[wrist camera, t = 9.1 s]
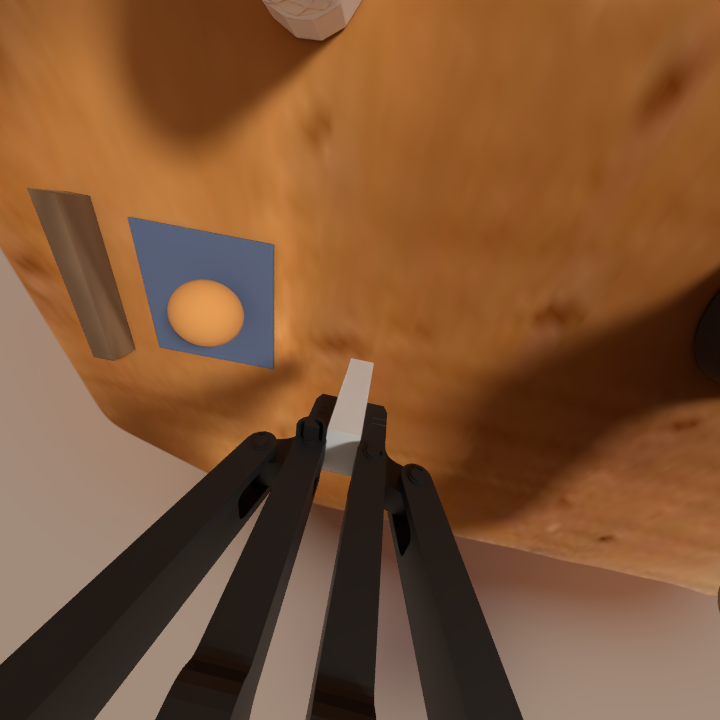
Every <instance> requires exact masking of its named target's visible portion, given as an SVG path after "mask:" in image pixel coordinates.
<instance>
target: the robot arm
mask: <svg viewBox="0 0 720 720" xmlns="http://www.w3.org/2000/svg"><path fill="white" fill-rule="evenodd" d="M695 357H696V360H697V363H698V365H699V367H700V368H701V370H702V371H703V372H704V373H705V374H706V375H707V376H708V377H709V378H711V379H712V380H714V381H716V382H718V383H720V292H719V293H718V295H717V296H716V297H715V299H714V300H713V301H712V303H711V304H710V306H709V307H708V309H707V311H706V313H705V314H704V316H703V318H702V320H701V322H700V325H699V327H698V330H697V334H696V338H695ZM373 364H374V363H371V362H367V361H362V360H357V359H352V358H351V361H350V364H349V367H348V370H347V373H346V376H345V379H344V382H343V384H342V387H341V390H340V393H339V396H338V397H335V396H331V395H326V394H322V395H321V396H319V397H318V398H317V399H316V401H315V404H314V406H313V408H312V411H311V412H310V415H309V416H308V417H304V418H302V419H300V420H299V421H298V423H297V427H296V436H295V437H292V438H288V439H276V437H275V436H274V435H273V434H271V433H269V432H265V431H264V432H257V433H253V434H252V435H250V436H249V437H248V438H246V439H245V440H244V441H243V442H242V443H241V444H240V445H239V446H238V447H237V448H236V449H234V450H233V451H232V452H231V453H230V454H229V455H228V456H227V457H226V458H225V459H224V460H222V461H221V462H220V463H219V464H218V465H217V466H216V467H215V468H214V469H213V470H212V471H211V472H209V473H208V474H207V475H206V476H205V477H204V478H203V479H202V480H201V481H200V482H199V483H197V484H196V485H195V486H194V487H193V488H192V489H191V490H190V491H189V492H188V493H187V494H186V495H185V496H183V497H182V498H181V499H180V500H179V501H178V502H177V503H176V504H175V505H174V506H173V507H171V508H170V509H169V510H168V511H167V512H166V513H165V514H164V515H163V516H162V517H160V518H159V520H157V521H156V522H155V523H154V524H153V525H152V526H151V527H150V528H149V529H147V530H146V531H145V532H144V533H143V534H142V535H141V536H140V537H139V538H138V539H137V540H136V541H134V542H133V543H132V544H131V545H130V546H129V547H128V548H127V549H126V550H125V551H123V552H122V553H121V554H120V555H119V556H118V557H117V558H116V559H115V560H114V561H113V562H112V563H110V564H109V565H108V566H107V567H106V568H105V569H104V570H103V571H102V572H101V573H100V574H98V576H96V577H95V578H94V579H93V580H92V581H91V582H90V583H89V584H88V585H87V586H85V587H84V588H83V589H82V590H81V591H80V592H79V593H78V594H77V595H76V596H75V597H73V598H72V599H71V600H70V601H69V602H68V603H67V604H66V605H65V606H64V607H63V608H62V609H60V610H59V611H58V612H57V613H56V614H55V615H54V616H53V617H52V618H51V619H50V620H48V621H47V622H46V623H45V624H44V625H43V626H42V627H41V628H40V629H39V630H38V631H37V632H35V633H34V634H33V635H32V636H31V637H30V638H29V639H28V640H27V641H26V642H25V643H23V644H22V645H21V646H20V647H19V648H18V649H17V650H16V651H15V652H14V653H13V654H11V655H10V656H9V657H8V658H7V659H6V660H5V661H4V662H3V663H2V664H1V665H0V720H94V719H95V718H96V716H97V715H98V714H99V712H100V711H101V710H102V709H103V707H104V706H105V705H106V703H107V702H108V701H109V699H110V698H111V697H112V696H113V694H114V693H115V692H116V690H117V689H118V688H119V686H120V685H121V684H122V683H123V681H124V680H125V679H126V678H127V676H128V675H129V674H130V672H131V671H132V670H133V668H134V667H135V666H136V665H137V663H138V662H139V661H140V659H141V658H142V657H143V656H144V654H145V653H146V652H147V650H148V649H149V648H150V646H151V645H152V644H153V643H154V641H155V640H156V639H157V637H158V636H159V635H160V633H161V632H162V631H163V630H164V628H165V627H166V626H167V624H168V623H169V622H170V621H171V619H172V618H173V617H174V615H175V614H176V613H177V612H178V610H179V609H180V608H181V606H182V605H183V604H184V602H185V601H186V600H187V598H188V597H189V596H190V595H191V593H192V592H193V591H194V589H195V588H196V587H197V586H198V584H199V583H200V582H201V580H202V579H203V578H204V577H205V575H206V574H207V573H208V571H209V570H210V569H211V567H212V566H213V565H214V564H215V562H216V561H217V560H218V558H219V557H220V556H221V554H222V553H223V552H224V550H225V549H226V548H227V547H228V545H229V544H230V543H231V541H232V540H233V539H234V538H235V536H236V535H237V534H238V533H239V531H240V530H241V529H242V527H243V526H244V525H245V523H246V522H247V521H248V520H249V518H250V517H251V516H252V514H253V513H254V512H255V511H256V509H257V508H258V507H259V505H260V504H261V503H262V501H263V500H264V499H265V498H266V496H267V495H268V494H269V496H268V498H267V500H266V502H265V504H264V506H263V508H262V511H261V513H260V515H259V517H258V519H257V521H256V524H255V526H254V528H253V530H252V532H251V534H250V536H249V539H248V541H247V543H246V545H245V547H244V549H243V551H242V553H241V556H240V558H239V560H238V562H237V564H236V567H235V569H234V571H233V573H232V575H231V577H230V579H229V581H228V583H227V586H226V588H225V590H224V592H223V594H222V596H221V598H220V601H219V603H218V605H217V607H216V609H215V611H214V613H213V616H212V618H211V620H210V622H209V624H208V626H207V628H206V631H205V633H204V635H203V637H202V639H201V642H200V643H199V646H198V647H197V650H196V651H195V653H194V655H193V656H192V658H191V659H190V660H189V662H188V663H187V664H186V665H185V666H184V667H183V668H182V670H181V672H180V673H179V675H178V676H177V678H176V680H175V681H174V683H173V685H172V687H171V689H170V691H169V693H168V695H167V697H166V699H165V701H164V703H163V705H162V707H161V709H160V711H159V713H158V715H157V717H156V719H155V720H249V717H250V714H251V709H252V705H253V700H254V696H255V693H256V689H257V686H258V682H259V679H260V676H261V672H262V669H263V666H264V662H265V659H266V656H267V652H268V649H269V646H270V642H271V639H272V636H273V632H274V629H275V626H276V622H277V619H278V616H279V612H280V609H281V606H282V602H283V599H284V596H285V592H286V589H287V586H288V582H289V579H290V576H291V572H292V569H293V566H294V562H295V559H296V556H297V552H298V549H299V546H300V542H301V539H302V536H303V532H304V529H305V526H306V522H307V519H308V516H309V512H310V509H311V506H312V502H313V499H314V496H315V492H316V489H317V486H318V482H319V478H320V472H321V469H322V470H326V471H330V472H335V473H339V474H343V475H348V476H351V481H350V485H349V490H348V494H347V501H346V507H345V512H344V518H343V523H342V528H341V534H340V539H339V544H338V549H337V556H336V560H335V566H334V571H333V577H332V582H331V587H330V592H329V598H328V604H327V609H326V614H325V619H324V625H323V630H322V635H321V641H320V646H319V652H318V657H317V662H316V668H315V673H314V678H313V683H312V689H311V694H310V699H309V705H308V710H307V715H306V720H376V713H375V707H374V683H375V664H376V645H377V627H378V608H379V589H380V570H381V569H380V568H381V550H382V532H383V513H384V509H385V510H386V511H388V517H389V522H390V527H391V532H392V537H393V542H394V547H395V552H396V557H397V563H398V568H399V572H400V578H401V583H402V588H403V594H404V599H405V604H406V609H407V614H408V619H409V624H410V629H411V635H412V639H413V645H414V649H415V655H416V660H417V665H418V671H419V675H420V681H421V686H422V691H423V696H424V701H425V706H426V712H427V717H428V720H523V718H522V715H521V712H520V710H519V707H518V704H517V702H516V699H515V696H514V694H513V691H512V689H511V686H510V683H509V681H508V678H507V675H506V673H505V670H504V668H503V665H502V663H501V660H500V657H499V655H498V652H497V649H496V647H495V644H494V641H493V639H492V636H491V633H490V631H489V628H488V626H487V623H486V620H485V618H484V615H483V613H482V610H481V607H480V605H479V602H478V599H477V597H476V594H475V591H474V589H473V586H472V584H471V581H470V578H469V576H468V573H467V570H466V568H465V565H464V562H463V560H462V557H461V555H460V552H459V549H458V547H457V544H456V542H455V539H454V536H453V533H452V531H451V528H450V526H449V523H448V520H447V518H446V515H445V512H444V510H443V507H442V505H441V502H440V499H439V497H438V494H437V491H436V489H435V486H434V484H433V481H432V478H431V476H430V474H429V473H428V471H427V470H425V469H424V468H423V467H421V466H419V465H417V464H407V465H405V466H404V467H403V466H401V465H399V464H397V463H396V462H394V461H393V460H392V459H391V458H389V456H388V455H387V453H386V451H385V439H386V420H387V412H386V410H385V408H384V406H380V405H375V404H370V403H367V400H368V394H369V388H370V382H371V376H372V370H373ZM269 492H270V493H269ZM718 607H719V612H720V587H719V590H718Z"/></svg>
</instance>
